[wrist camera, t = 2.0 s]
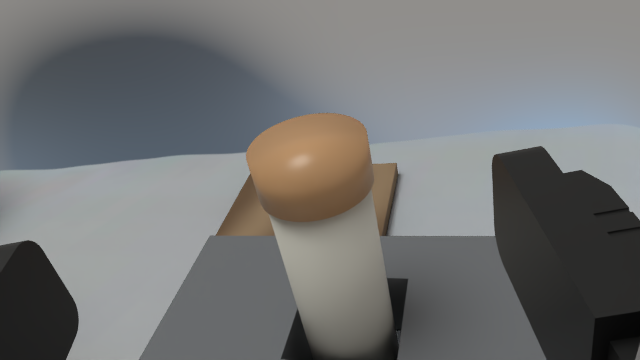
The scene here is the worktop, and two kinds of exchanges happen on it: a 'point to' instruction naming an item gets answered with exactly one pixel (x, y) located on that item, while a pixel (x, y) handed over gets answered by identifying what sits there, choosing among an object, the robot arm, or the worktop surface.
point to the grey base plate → (405, 294)
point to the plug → (327, 232)
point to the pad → (256, 221)
